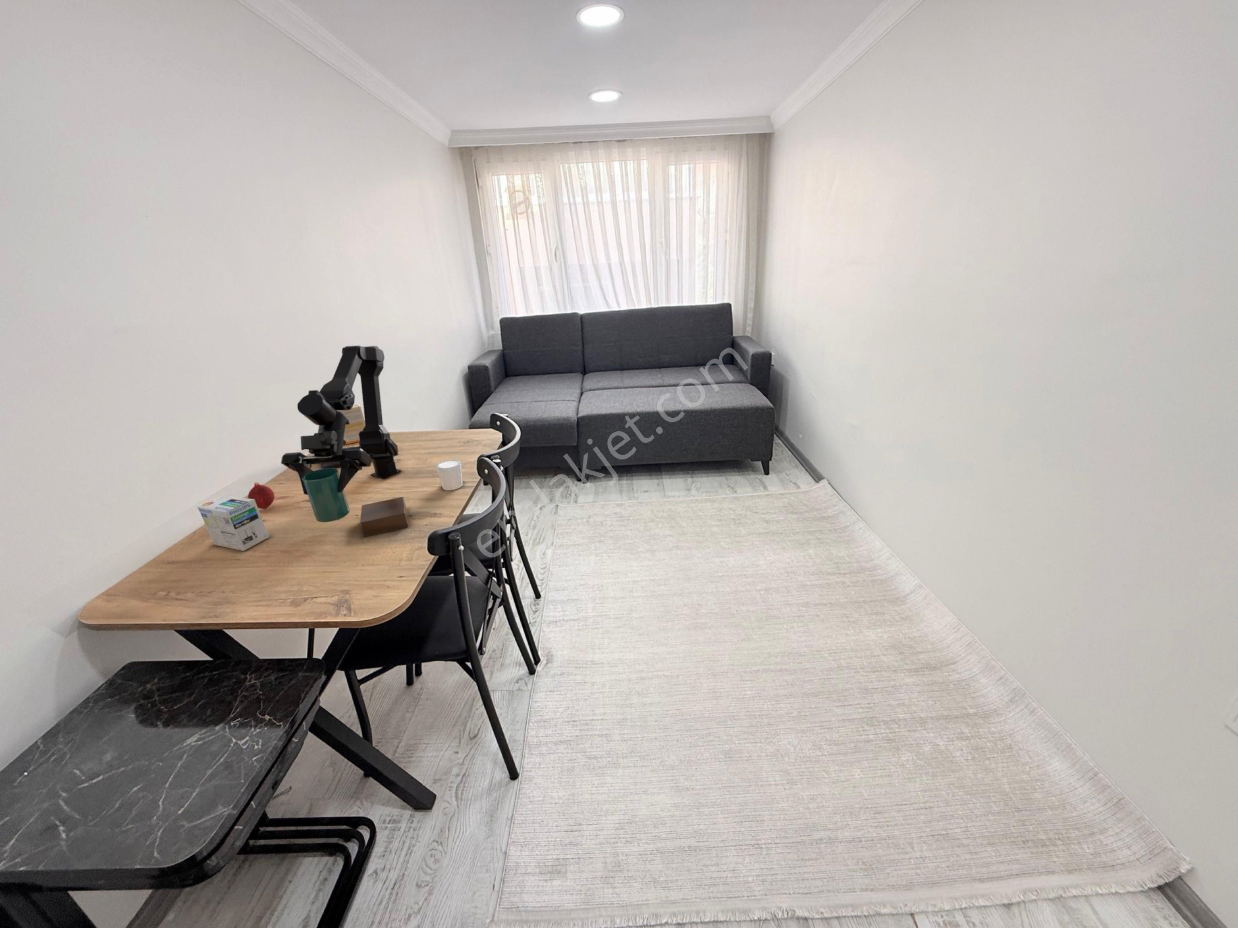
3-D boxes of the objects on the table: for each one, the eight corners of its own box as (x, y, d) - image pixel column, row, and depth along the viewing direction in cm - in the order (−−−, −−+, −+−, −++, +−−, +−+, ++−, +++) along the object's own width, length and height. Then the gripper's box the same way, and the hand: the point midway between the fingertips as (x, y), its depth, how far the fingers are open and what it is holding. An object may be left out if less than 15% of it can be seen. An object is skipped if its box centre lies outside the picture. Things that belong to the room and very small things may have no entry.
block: (365, 518, 128) (361, 505, 126) (406, 509, 131) (403, 496, 130) (364, 537, 119) (359, 522, 118) (408, 527, 123) (404, 513, 121)
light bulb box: (270, 537, 121) (255, 498, 117) (243, 552, 115) (227, 511, 111) (240, 531, 124) (224, 493, 120) (212, 545, 119) (195, 506, 114)
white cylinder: (468, 480, 147) (464, 459, 144) (459, 491, 140) (455, 469, 138) (446, 480, 147) (441, 459, 145) (436, 491, 141) (431, 468, 138)
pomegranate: (282, 505, 137) (273, 479, 133) (261, 515, 132) (251, 488, 129) (269, 502, 139) (260, 476, 136) (248, 511, 134) (238, 485, 131)
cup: (309, 518, 120) (295, 477, 115) (338, 504, 126) (326, 465, 121) (327, 525, 116) (313, 483, 112) (356, 511, 122) (344, 471, 118)
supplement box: (368, 436, 188) (359, 403, 182) (369, 439, 184) (361, 406, 179) (344, 441, 184) (334, 407, 179) (345, 444, 180) (335, 410, 175)
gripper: (272, 421, 115) (259, 484, 109) (354, 416, 116) (346, 479, 110) (299, 441, 125) (290, 499, 120) (374, 436, 126) (368, 494, 120)
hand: (322, 493), depth 117 cm, fingers closed on cup, 7 cm apart
